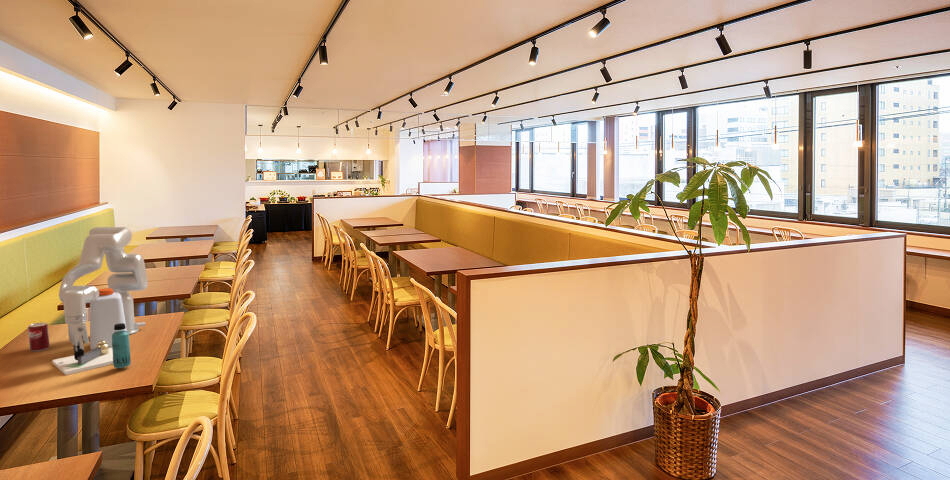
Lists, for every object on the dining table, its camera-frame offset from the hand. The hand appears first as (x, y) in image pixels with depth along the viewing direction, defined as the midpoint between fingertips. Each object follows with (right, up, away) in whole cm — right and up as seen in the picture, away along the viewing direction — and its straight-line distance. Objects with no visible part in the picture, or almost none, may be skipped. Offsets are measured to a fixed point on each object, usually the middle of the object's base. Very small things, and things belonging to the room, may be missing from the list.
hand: (79, 358), depth 232 cm
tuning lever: (+3, 0, +5) cm, 5 cm away
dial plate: (+1, -2, +5) cm, 6 cm away
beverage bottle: (+20, -4, -2) cm, 21 cm away
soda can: (-33, 0, +19) cm, 38 cm away
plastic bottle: (-5, 0, +26) cm, 26 cm away
